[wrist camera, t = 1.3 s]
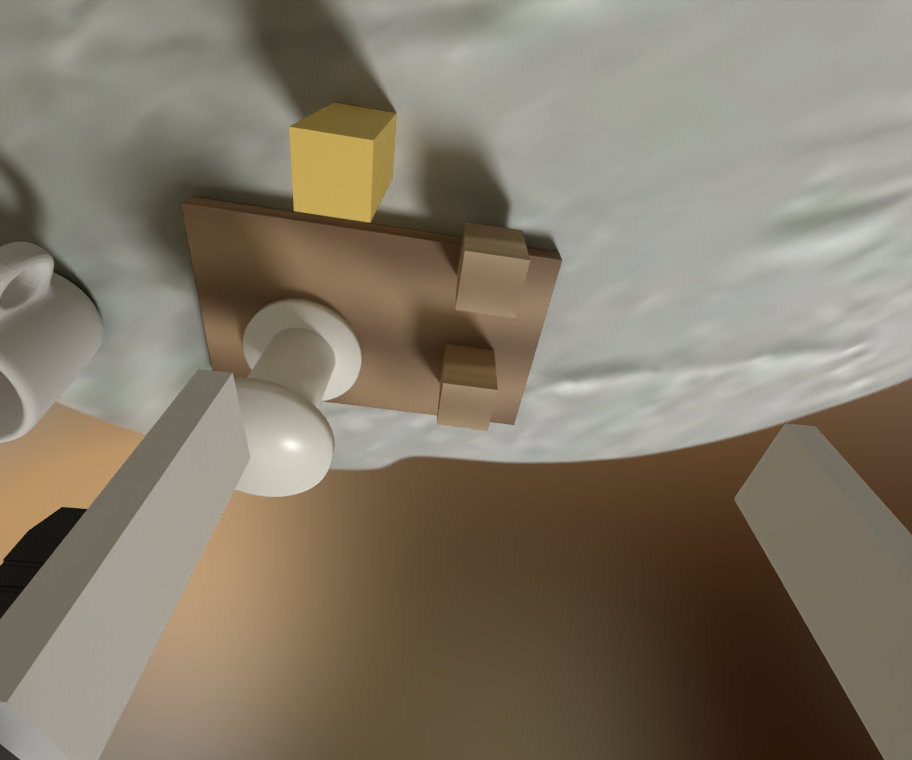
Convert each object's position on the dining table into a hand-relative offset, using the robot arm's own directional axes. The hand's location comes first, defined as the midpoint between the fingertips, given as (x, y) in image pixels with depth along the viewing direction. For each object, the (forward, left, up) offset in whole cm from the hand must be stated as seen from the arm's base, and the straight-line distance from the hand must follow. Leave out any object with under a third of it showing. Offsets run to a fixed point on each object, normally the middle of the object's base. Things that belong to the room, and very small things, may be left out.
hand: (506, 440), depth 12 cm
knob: (+9, -10, -16) cm, 21 cm away
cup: (+8, -25, -18) cm, 31 cm away
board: (+7, -6, -17) cm, 20 cm away
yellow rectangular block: (-3, -7, -17) cm, 19 cm away
